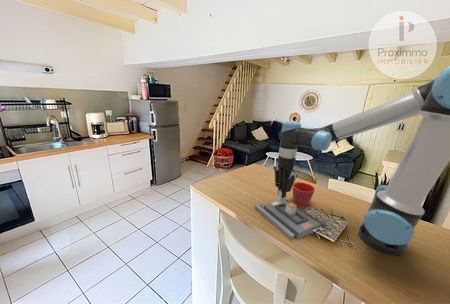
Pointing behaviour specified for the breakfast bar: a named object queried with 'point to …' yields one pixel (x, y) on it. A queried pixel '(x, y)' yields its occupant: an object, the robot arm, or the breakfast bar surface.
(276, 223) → the grey long bar
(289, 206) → the lever
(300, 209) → the long gray bar
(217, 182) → the breakfast bar surface
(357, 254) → the breakfast bar surface
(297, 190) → the flower pot
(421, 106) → the robot arm
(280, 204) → the breaker panel
